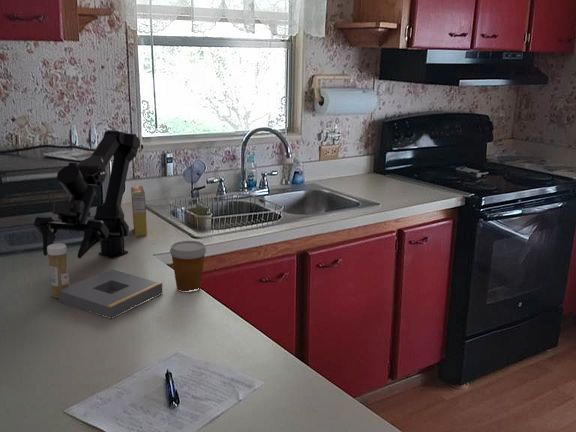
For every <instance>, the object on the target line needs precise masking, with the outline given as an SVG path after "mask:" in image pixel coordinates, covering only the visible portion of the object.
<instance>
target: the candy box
mask: <svg viewBox="0 0 576 432" xmlns="http://www.w3.org/2000/svg"><path fill="white" fill-rule="evenodd" d="M130 190H131V191H130V192H131V193H130V194H131V209H132V220H133V221H132V223H133V230H134V236H135V237H142V236H143V237H144V236H147V235H148V227H147V210H146V209H147V206H146V193H145V190H144V186H143V185H138V186H137V185H136V186H131V187H130Z"/></svg>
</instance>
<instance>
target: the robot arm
mask: <svg viewBox="0 0 576 432" xmlns="http://www.w3.org/2000/svg"><path fill="white" fill-rule="evenodd" d="M140 146H141V140H140V138H139V136H138V135H137V134H136V133H126V132H125V131H121V130H116V129H115V130H114V129H110V130H109V129H108V130H105V131H104V133H103V137H102V139H101V140H100V141H99V143H98V145H97V146H96V148H95V150H94V151H93V152H92V153H91V155H90V156H89V157H87V158H84V159H82V161H80V162H79V164H78V163H77V162H68V164H67V165H66V166H64V167H62V168H61V169H60V170H59V171H58V172H57V175H56V179H57V181H58V182H59V184H60V185H61V186H62V187H63V189H64V190H65V192H66V193H67V194H69V195H70V197H69V199H68V201H67V200H66V201H54V202H53V203H54V204H53V207H52V208H53V209H52V215H57V219H58V220H61V222H60V221H55V220H54V218H53V217H51V216H47V215H38V216H36V217H35V218H34V219H33V222H32V225H33V226H34V227H35V228H36V229H37V231H38V232H39V233H40V234H41V235H42V248H43V249H42V250H43V251H42V252H43V255H44V256H46V257H48V253H47V247H48V246H49V245H51V244H54V242H55V241H56V238H57V236H56V234H57V233H58V231H61V230H62V231H70V232H71V231H72V232H83V238H82V241H81V243H80V246H79V250H78V252H77V258H78V259H81V258H82V257H84V255H85V254H86V253H88V251H89V250H90V249H91V248H93V247H94V246H95V245H96V244H98V243H99V242H100V251H99V252H98V255H99V256H104V257H107V258H111V259H115V258H118V257H120V256H124V255H126V254H129V251H128V250H125V237H128V236H129V232H130V226H129V224H128V223H127V222H126V220H125V213H124V211H123V208H122V202H123V196H124V191H125V186H126V181H127V176H128V173H129V172H128V171H129V168H130V167H129V166H130V162H132V160H134V158H136V157H137V153H138V150H139V149H140ZM112 158H113V160H112V165H111V169H110V175H109V180H108V185H107V189H106V195H105V199H104V202H103V203H102V204H100V205H99V204H98V205H97V206H96V210H95V215H94V217H93V219H88V217H89V218H91V214H92V213H91V212H90V211H91V207H92V203H93V200H94V199H95V200H96V199H98V195H97V192H96V190H95V188H94V187H93V186H101V185H103V183H104V182H105V180H106V176H107V170H106V168H107V165H108V164H109V162H110V161H111V159H112ZM87 219H88V220H87ZM86 221H87V222H86Z"/></svg>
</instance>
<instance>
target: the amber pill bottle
mask: <svg viewBox="0 0 576 432" xmlns="http://www.w3.org/2000/svg"><path fill="white" fill-rule="evenodd" d="M67 249H68V248H67V245H66V244H65V243H61V242H60V243H53V244H51V245H49V246H48V247H47V253H48V254H47V257H48V268H49V269H48V270H49V279H50V280H49V281H50V285H51V286H50V288H51V289H50V290H51V295H50V296H51V297H52V298H55V299H59V295H58V290H61V289H63V288H66V287H69V286H70V285H69V284H70V283H69V282H70V280H69V272H68V271H69V268H68V259H67V253H68V250H67Z"/></svg>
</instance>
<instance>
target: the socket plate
mask: <svg viewBox="0 0 576 432" xmlns="http://www.w3.org/2000/svg"><path fill="white" fill-rule="evenodd" d="M114 291H115V292H114ZM110 292H113V293H110ZM163 292H164V291H163V282H161V281H155V280H151V279H147V278H144V277H140V276H137V275H134V274H130V273H127V272H123V271H119V270H116V269H109V270H106V271H104V272H102V273H99V274H97V275H94V276H92V277H89V278H85V279H84V280H81V281H79V282H76V283H74V284H71V285H69V287H66V288H63V289H61V290H58V295H59V298H58V302H59V303H61V304H65V305H67V306H70V307H73V306H74V308H76V307H77V308H76V309H79V308H80V310H82V309H84V310H83V311H85V310H87V311H86V312H88V311H91V312H94V313H97V314H100V315H104V316H107V317H110V318H112V317H114V316H116V315H118V314H120V313H122V312H124V311H126V310H128V309H130V308H131V307H134V306H135V305H138V304H140V303H142V302H144V301H146V300H148V299H150V298H152V297H155V296H157V295H159V294H161V293H163ZM91 312H90V313H91ZM94 313H93V314H94ZM97 314H96V315H97ZM100 315H99V316H100Z"/></svg>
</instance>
